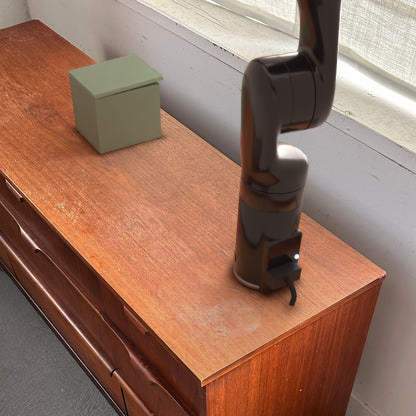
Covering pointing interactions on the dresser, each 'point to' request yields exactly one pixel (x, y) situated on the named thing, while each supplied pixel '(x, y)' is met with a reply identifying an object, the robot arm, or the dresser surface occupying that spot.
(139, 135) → the chest
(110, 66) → the lid
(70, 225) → the dresser surface
